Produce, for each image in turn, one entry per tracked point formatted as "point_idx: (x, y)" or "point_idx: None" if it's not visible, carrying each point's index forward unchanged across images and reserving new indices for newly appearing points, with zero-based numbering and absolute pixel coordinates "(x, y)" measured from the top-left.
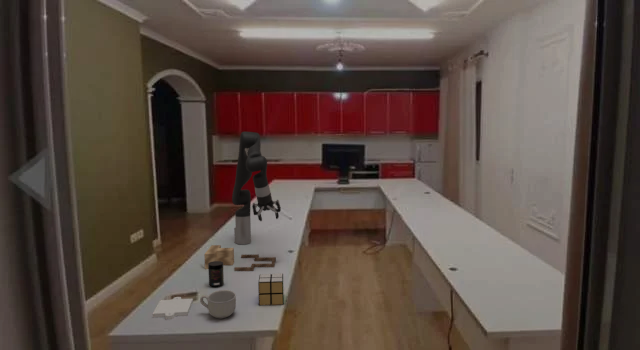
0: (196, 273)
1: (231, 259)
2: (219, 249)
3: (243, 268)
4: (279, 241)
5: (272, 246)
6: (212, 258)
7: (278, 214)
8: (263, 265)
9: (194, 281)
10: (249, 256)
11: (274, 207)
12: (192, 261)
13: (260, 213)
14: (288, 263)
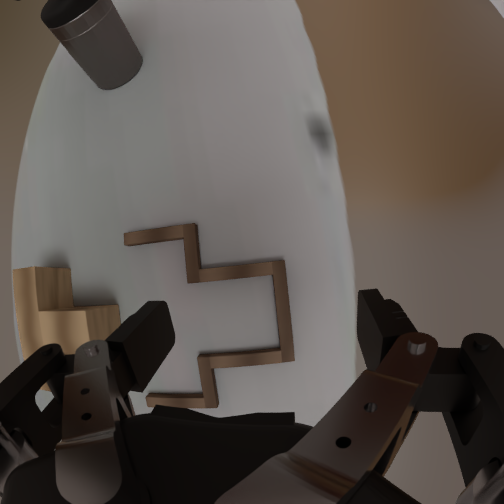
0: None
1: None
2: (46, 334)
3: (180, 407)
4: (244, 34)
5: (229, 82)
6: None
7: (405, 314)
8: (248, 364)
9: None
10: (158, 241)
11: (410, 412)
12: (13, 294)
13: (119, 341)
14: (345, 302)
